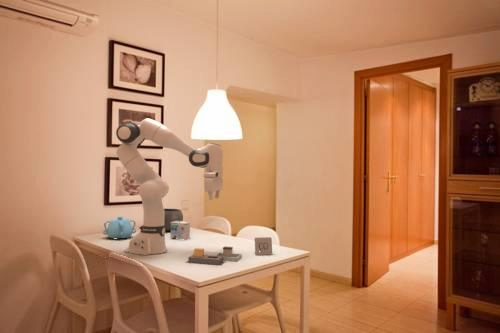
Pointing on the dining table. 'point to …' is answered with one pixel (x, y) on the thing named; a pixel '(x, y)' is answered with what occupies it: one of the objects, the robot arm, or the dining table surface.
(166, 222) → the dark gray rounded block
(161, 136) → the robot arm
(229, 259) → the parts tray
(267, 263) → the dining table surface
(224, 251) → the fuse
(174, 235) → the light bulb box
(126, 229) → the decorative pot
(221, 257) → the fuse block
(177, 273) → the dining table surface
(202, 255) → the fuse
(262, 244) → the electrical switch
